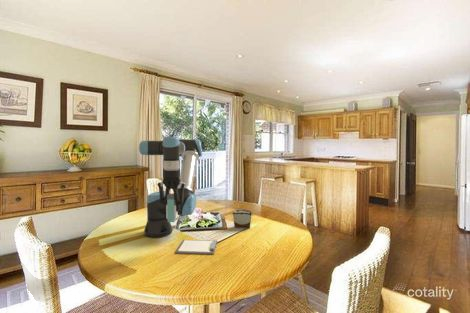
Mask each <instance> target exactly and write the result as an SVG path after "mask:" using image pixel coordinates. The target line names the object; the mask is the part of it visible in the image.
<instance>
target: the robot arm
mask: <svg viewBox="0 0 470 313" xmlns="http://www.w3.org/2000/svg"><path fill="white" fill-rule="evenodd" d="M201 142H202V141H201V140H200V139H198V138H197V139H195V138H194V139H191V138H189V139H188V138H187V139H185V138H184V139H183V138H182V139H180V138H179V136H164V137H163V139H162V140H141V141H140V143H139V145H138V150H139V153H140V155H141V156H162V159H163V160H162V168H163V171H162V172H163V174H162V175H163V179H162V181H160V182H157V186H158V191H154V192H151V193H150V194H148V195H147V197H146V198H147V199H146V216H147V217H146V218H147V220H146V224H145V228H144V234H143V235H144V236H145V237H146V238H153V239H156V238H164V237H167V236H169V235H171V234H172V233H173V226H172V224H171V223H172V222H168V214H167V195H168V194H170V192H171V190H172V191H173V194H174V197H175V203H176V204H175V205H174V219H176V220H177V218H178V217H179V216H185V217H186V216H191V215H193V214H194V212H195V209H196V205H197V194H195V191H194V190H193V188H194V181H195V180H194V179H195V172H196V165H197V161H198V160H199V159H200V158H201V157H203V150H202V143H201ZM180 157H181V159H182V161H180ZM180 162H181V163H180ZM180 164H181V166H180ZM180 167H181V169H180ZM164 187H165V190H164Z"/></svg>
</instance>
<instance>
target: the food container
mask: <svg viewBox="0 0 470 313" xmlns="http://www.w3.org/2000/svg"><path fill="white" fill-rule="evenodd" d="M231 214H232V217H233V226H234V229H251V224H252V222H251V221H252V216H253V212H252V211H251V210H250V209H245V208H242V209H241V208H239V209H235V210H233V211H232V213H231Z"/></svg>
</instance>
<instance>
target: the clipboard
mask: <svg viewBox="0 0 470 313" xmlns="http://www.w3.org/2000/svg"><path fill="white" fill-rule="evenodd" d="M217 245H218V240H203V239H202V240H201V239H200V240H199V239H183V240H182V241H181V243H180V244H179V246H178V248H177V249H176V250H175V252H174V253H175V254H176V255H177V254H178V255H180V254H181V255H182V254H183V255H186V254H187V255H211V256H213V255H215V251H216V248H217Z"/></svg>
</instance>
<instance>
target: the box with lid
mask: <svg viewBox="0 0 470 313" xmlns="http://www.w3.org/2000/svg"><path fill="white" fill-rule="evenodd" d="M175 204H176V203H175V197H174V193H170V194H168V195H167V214H168V222H170V223H175V222H176V221H177V218H176V219H174V205H175Z"/></svg>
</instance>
